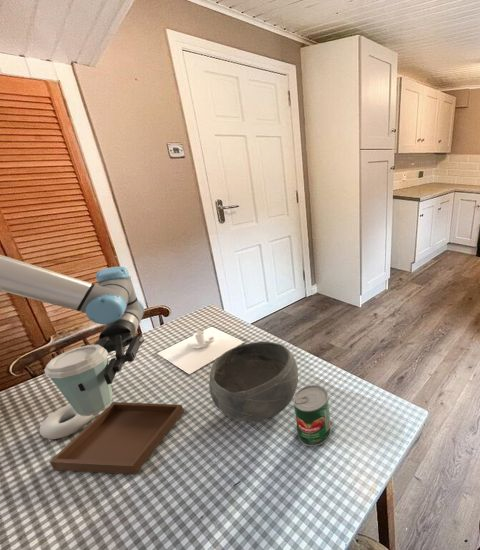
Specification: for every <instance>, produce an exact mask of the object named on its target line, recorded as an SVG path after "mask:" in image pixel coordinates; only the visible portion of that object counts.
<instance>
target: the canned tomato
mask: <svg viewBox="0 0 480 550" xmlns="http://www.w3.org/2000/svg"><path fill="white" fill-rule="evenodd" d="M292 402H293V404H294V405H293V406H294V413H295V421H296V429H297V436H298V437H297V438H298V440H299V442H300V443H302V444H303V445H305V446H307V447H317V446H320V445H322V444H324V443H325V442H326V441H327V440H328V439H329V437H331V434H332V427H331V415H330V401H329V392H328V391H327V389H326V388H325V387H323V386H321V385H316V384H309V385H307V386H304V387H302V388H300V389H299V390H297V392H295V394H294V396H293V401H292Z"/></svg>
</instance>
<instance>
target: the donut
mask: <svg viewBox="0 0 480 550" xmlns="http://www.w3.org/2000/svg"><path fill="white" fill-rule="evenodd" d="M94 415H95V414H93V415H90V416H81V415H80V414H78V413H77V412H76V411H75V410H74V409H73V407H72V406H71V405H70V404H67V405H65V406H62V407H60V408H59V409H56V410H55V411H54V412H52V413H50V414H49V415H48V416H47V417H45V418H44V419H43V421H42V423H41V424H40V426H39V431H38V432H39V434H40V435H41V437H42V438H44V439H48V440H57V439H63V438H65V437H68V436H71V435H73V434H75V433H77V432H79V431H80V430H81V429H83V428H84V427H85V426H86V425H88V423H90V421H91V420H92V418H93V416H94Z"/></svg>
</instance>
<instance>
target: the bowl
mask: <svg viewBox="0 0 480 550" xmlns="http://www.w3.org/2000/svg"><path fill="white" fill-rule="evenodd" d="M208 382H209V383H208V388H209V389H208V390H209V395H210V398H211V400H212V402H213V403H214V405H215V407H216V408H217V409H218V410H219V411H220V412H221V413H223V414H224V415H225V416H227V417H230V418H231V419H234V420H238V421H241V422H260V421H265V420H268V419H270V418H273V417H274V416H276V415H278V414H280V413H281V412H282V411H284V409H286V407H288V405H289V404H290V403H291V402H292V399H294V396H295V394H296V391H297V388H298V383H299V367H298V364H297V361H296V359H295V357H294V354H293V353H292V351H290V349H288V347H287V346H285V345H283V344H281V343H277V342H271V341H263V340H262V341H255V342H249V343H244V344H240V345H238V346H237V347H235V348H233V349H230V350H228V351H226V352H225V353H224V354H222V355H221V356H220V357H218V358H216V359H215V360H214V362H213V364H212V366H211V368H210V371H209V381H208Z"/></svg>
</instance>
